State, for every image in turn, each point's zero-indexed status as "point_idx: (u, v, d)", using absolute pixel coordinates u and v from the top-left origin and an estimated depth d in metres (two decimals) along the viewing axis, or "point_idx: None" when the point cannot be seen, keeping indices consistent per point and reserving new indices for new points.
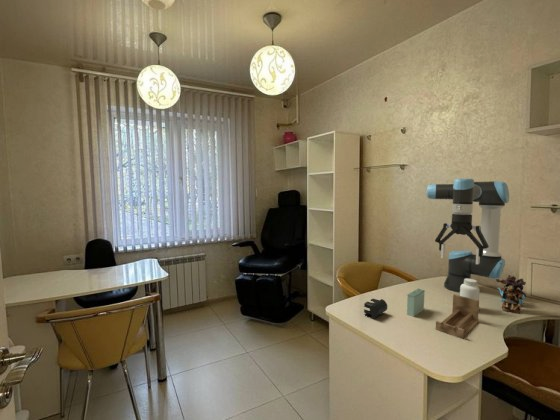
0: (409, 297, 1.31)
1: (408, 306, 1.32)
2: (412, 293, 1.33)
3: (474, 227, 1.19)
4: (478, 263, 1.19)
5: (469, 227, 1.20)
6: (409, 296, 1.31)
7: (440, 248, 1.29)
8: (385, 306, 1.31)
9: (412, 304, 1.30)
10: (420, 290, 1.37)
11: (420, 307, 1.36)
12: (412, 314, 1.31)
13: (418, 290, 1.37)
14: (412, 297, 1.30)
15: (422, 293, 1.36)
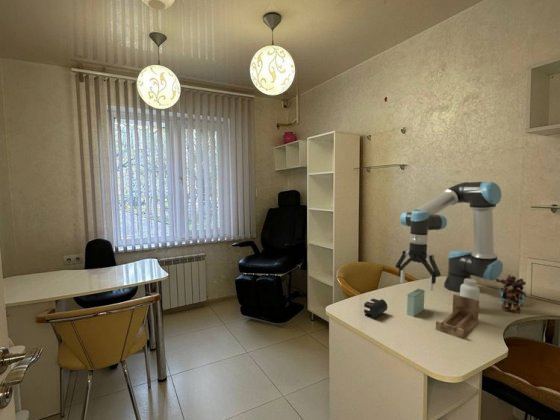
0: (409, 297, 1.31)
1: (408, 306, 1.32)
2: (413, 293, 1.33)
3: (428, 256, 1.29)
4: (431, 289, 1.29)
5: (424, 256, 1.30)
6: (409, 296, 1.31)
7: (400, 273, 1.39)
8: (385, 306, 1.31)
9: (412, 304, 1.30)
10: (420, 290, 1.37)
11: (420, 307, 1.36)
12: (412, 314, 1.31)
13: (418, 290, 1.37)
14: (412, 297, 1.30)
15: (422, 293, 1.36)
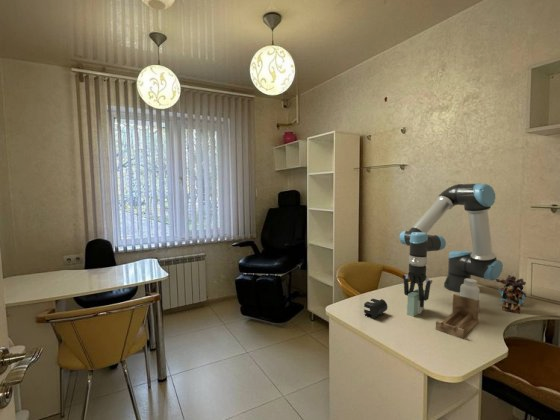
0: (409, 297, 1.31)
1: (408, 306, 1.32)
2: (413, 293, 1.33)
3: (427, 280, 1.30)
4: (420, 312, 1.33)
5: (423, 278, 1.31)
6: (409, 296, 1.31)
7: None
8: (385, 306, 1.31)
9: (412, 304, 1.30)
10: None
11: None
12: (412, 314, 1.31)
13: (418, 290, 1.37)
14: (412, 297, 1.30)
15: None
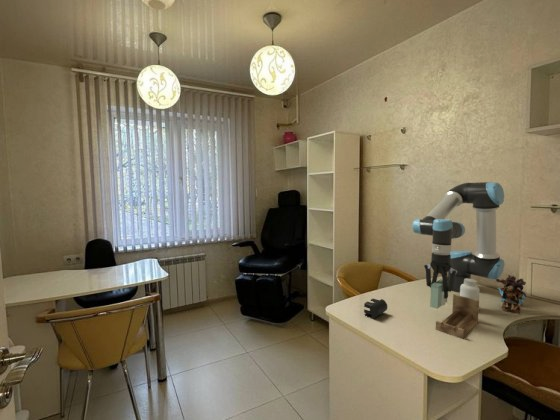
0: (433, 288, 1.23)
1: (432, 297, 1.24)
2: (436, 284, 1.25)
3: (451, 270, 1.22)
4: (443, 304, 1.25)
5: (447, 268, 1.23)
6: (433, 287, 1.23)
7: None
8: (385, 306, 1.31)
9: (436, 295, 1.22)
10: None
11: None
12: (436, 306, 1.23)
13: (441, 281, 1.29)
14: (436, 288, 1.22)
15: None
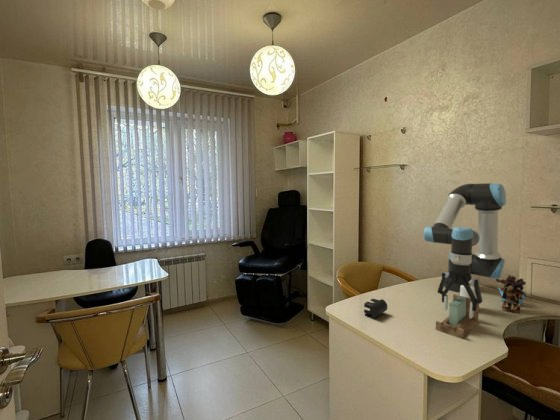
0: (451, 307, 1.18)
1: (450, 317, 1.18)
2: (454, 302, 1.20)
3: (473, 280, 1.16)
4: None
5: (468, 278, 1.17)
6: (451, 305, 1.18)
7: (443, 300, 1.25)
8: (385, 306, 1.31)
9: (455, 314, 1.17)
10: (461, 298, 1.24)
11: (463, 318, 1.22)
12: None
13: (459, 298, 1.24)
14: (455, 307, 1.17)
15: (464, 302, 1.23)
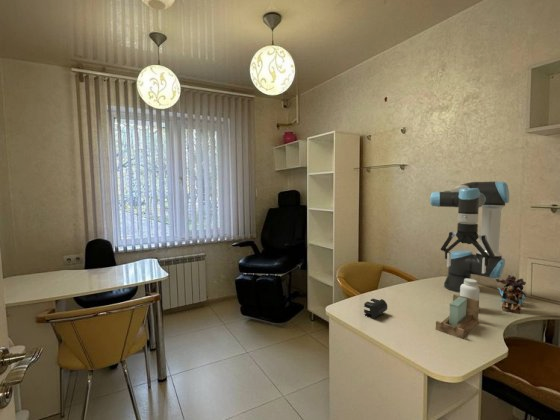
0: (452, 307, 1.18)
1: (451, 317, 1.18)
2: (455, 302, 1.19)
3: (480, 237, 1.20)
4: (484, 272, 1.20)
5: (475, 236, 1.21)
6: (452, 306, 1.18)
7: (446, 257, 1.30)
8: (385, 306, 1.31)
9: (455, 314, 1.17)
10: (462, 299, 1.24)
11: (463, 318, 1.22)
12: None
13: (460, 299, 1.24)
14: (456, 307, 1.17)
15: (465, 302, 1.23)
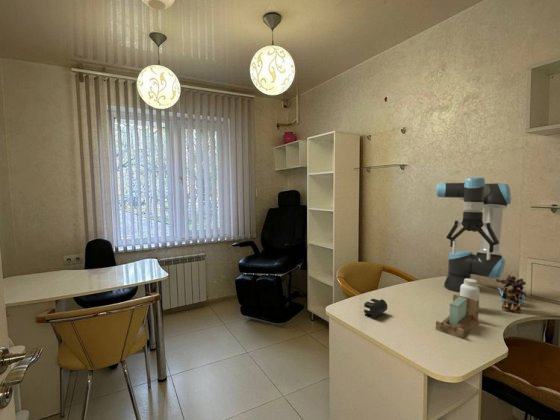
0: (452, 307, 1.18)
1: (451, 317, 1.18)
2: (455, 302, 1.19)
3: (485, 224, 1.24)
4: (489, 259, 1.23)
5: (480, 224, 1.25)
6: (452, 306, 1.18)
7: (451, 244, 1.34)
8: (385, 306, 1.31)
9: (455, 314, 1.17)
10: (462, 299, 1.24)
11: (463, 318, 1.22)
12: None
13: (460, 299, 1.24)
14: (456, 307, 1.17)
15: (465, 302, 1.23)
